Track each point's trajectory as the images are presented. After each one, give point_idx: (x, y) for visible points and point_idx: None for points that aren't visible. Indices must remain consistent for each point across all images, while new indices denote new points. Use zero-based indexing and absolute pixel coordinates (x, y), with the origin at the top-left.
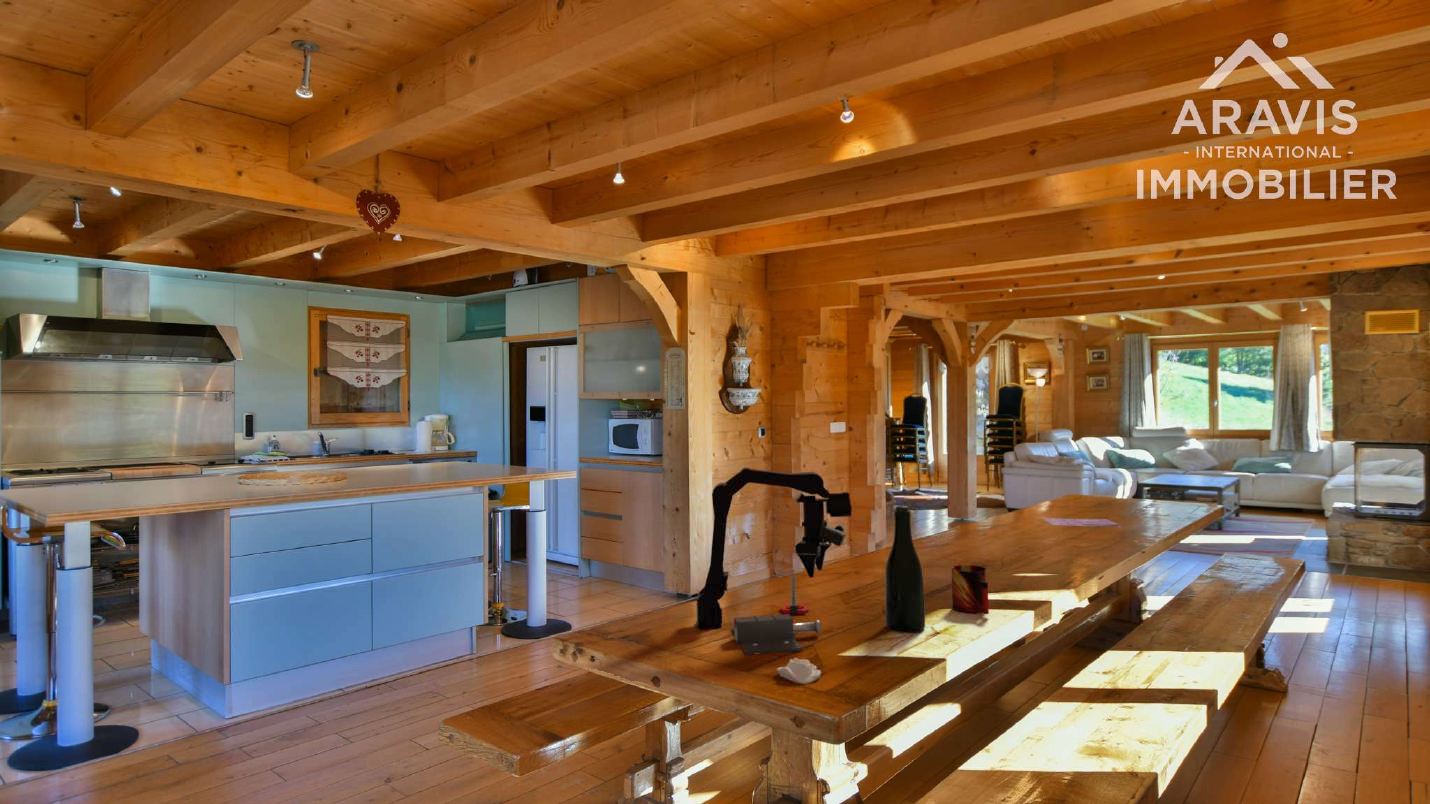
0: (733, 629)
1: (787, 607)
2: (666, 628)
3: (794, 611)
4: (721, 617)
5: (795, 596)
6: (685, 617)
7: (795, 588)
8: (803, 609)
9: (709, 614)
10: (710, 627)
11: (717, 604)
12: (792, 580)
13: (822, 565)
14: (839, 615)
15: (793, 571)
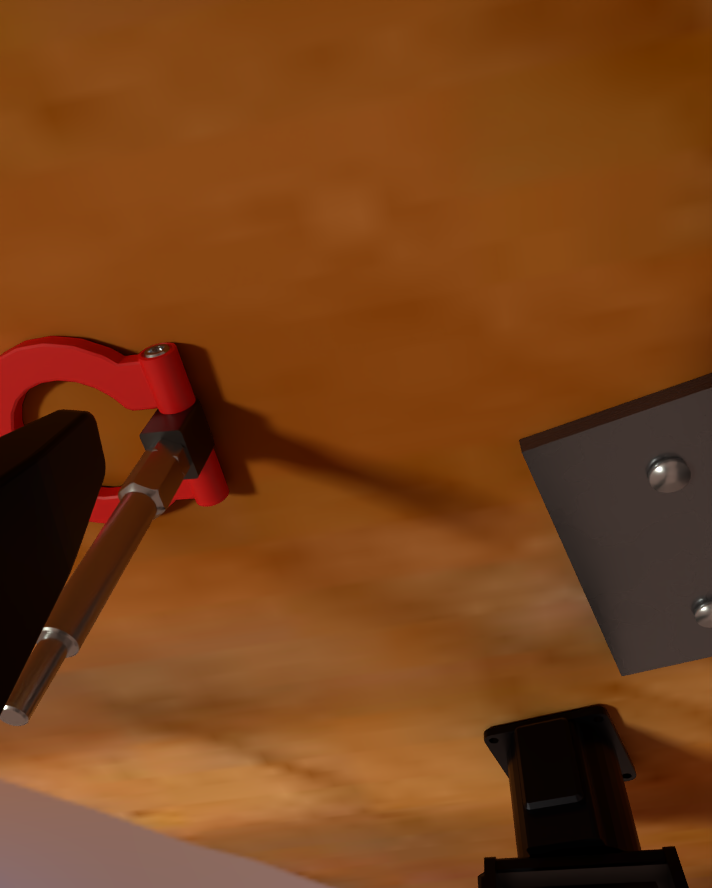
0: (665, 660)
1: None
2: None
3: (202, 426)
4: (574, 752)
5: (140, 492)
6: (425, 824)
7: (106, 541)
8: (109, 376)
9: (631, 813)
10: (621, 742)
11: (603, 844)
12: (91, 623)
13: (11, 450)
14: (57, 20)
15: (30, 702)
